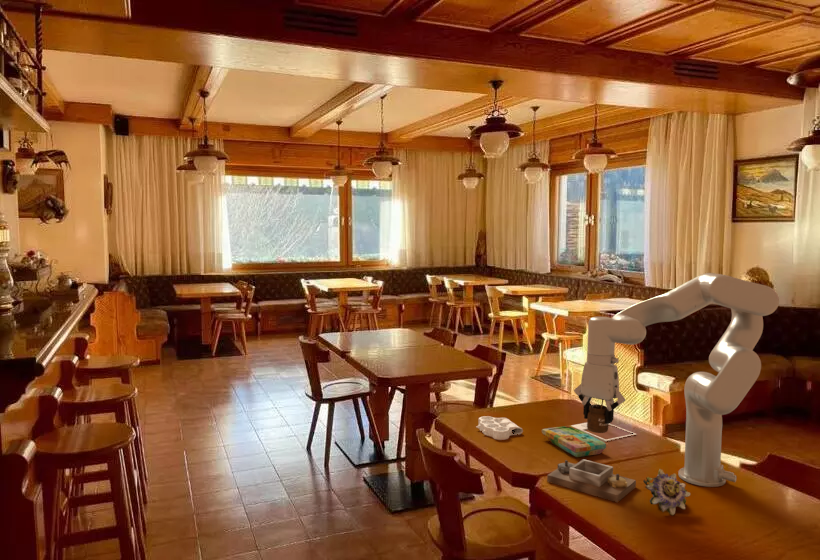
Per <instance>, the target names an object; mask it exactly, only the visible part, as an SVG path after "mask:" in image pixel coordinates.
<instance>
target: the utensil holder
mask: <svg viewBox="0 0 820 560" xmlns="http://www.w3.org/2000/svg"><path fill="white" fill-rule="evenodd" d="M593 395H594V394H593ZM596 396H597V395H596ZM591 397H592V396H591ZM594 399H596V397H595V398H594ZM590 404H591V405H590V406H589V412H588V416H587V419H586V420H587V421H586V423H587V428H588V432H590V433H591V432H592V433H597V434H605V433H607V432H608V431H609V426H608V424H606V423H605V414H606V410H607V405H604V400H601V403H600V399H597V403H593V399H591V401H590Z"/></svg>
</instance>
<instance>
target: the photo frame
mask: <svg viewBox="0 0 820 560" xmlns="http://www.w3.org/2000/svg"><path fill="white" fill-rule="evenodd" d="M608 425H611V426H610V427H612V426H615V427H617V428H619V429H618V430H620V429H622V430H624V431H623V432H625V431H627V432H630V433H633V434H630V433H629V434H626V435H622V436H621V435H620V436H617V437H612V438H608V439H607V438H606V439H605V438H603V437H601V436H598V435H596V434H594V433H591V432H590V431H589V430H588V428H587V422H582V423H577V424H572V425H570V426H572V427H574V428H576V429H578V430H580V431H582V432H584V433H586V434H588V435H590V436H592V437H594V438H597V439H599V440H601V441H603V442H604V443H607V441H608V442H611V440H612V441H616V440H615V439H617V440H620V439H619V438H622V439H624V438H623V437H627V436H631V435H636V436H637V433H635V432H632V431H629V430H628V429H624V428H623V427H619V426H618V425H614V424H611V423H609V424H608ZM617 428H616V429H617ZM587 430H588V431H587ZM622 430H621V431H622ZM627 432H626V433H627ZM631 437H632V436H631ZM627 438H628V437H627Z"/></svg>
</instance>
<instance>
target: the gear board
mask: <svg viewBox="0 0 820 560" xmlns="http://www.w3.org/2000/svg"><path fill="white" fill-rule="evenodd" d="M546 478H547V480H546V481H547V482H548V483H551V484H555V485H558V486H560V487H563V488H568V489H571V490H574V491H577V492H581V493H583V494H584V493H585V494H587V495H592V496H594V497H597V496H598V497H599V498H600V499H604V500H607V499H608V501H611V502H614V501H615V503H619V502H620V501H621V500H622V499H623V498H625V496H627V495H629V493H631V492H632V491H633V490H634V489H635V488H636V486H637V480H636V479H632V478H628V477H625V476H622V475H620V474H619V473H616V474H614V466H611V465H608V464H604V463H600V462H596V461H592V460H587V459H584V458H583V459H581V460H580V461H579V462H577V463H572V462H570V461H568V460H567V459H566V460H564V462H562V463H557V468H556V469H554V470H553V471H551V472H550V473H548V474H547V477H546ZM598 497H597V498H598ZM618 501H619V502H618Z"/></svg>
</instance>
